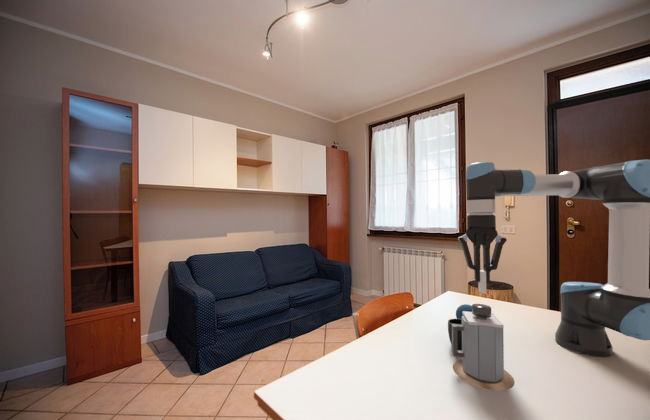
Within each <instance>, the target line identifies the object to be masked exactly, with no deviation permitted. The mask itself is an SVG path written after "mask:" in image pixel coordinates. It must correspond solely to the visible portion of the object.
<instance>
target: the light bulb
mask: <svg viewBox="0 0 650 420" xmlns="http://www.w3.org/2000/svg"><path fill="white" fill-rule="evenodd" d="M462 311H467V312H472V304H471V305H470V304H465V303H464V304H461V305H459V306H457V309H456V311H455V317H456V318H455V319H462V316H463V314H462Z"/></svg>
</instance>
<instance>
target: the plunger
mask: <svg viewBox="0 0 650 420" xmlns="http://www.w3.org/2000/svg"><path fill="white" fill-rule="evenodd" d="M471 306H472V314H473V315H475V316H478V317H479V319H484V318H489V317H491V314H492V307H491V306H490V305H487V304H483V303H473V304H471Z"/></svg>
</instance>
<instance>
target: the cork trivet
mask: <svg viewBox="0 0 650 420" xmlns="http://www.w3.org/2000/svg"><path fill="white" fill-rule="evenodd" d="M452 371H453V372H454V373H455V375H456V376H457V377H459V378H460V379H461V380H463V381H464V382H466V383H468V384H470V385H472V386H475V387H477V388H480V389H485V390H489V391H498V392H501V391H507V390H511V389H512V388H513V387H514V386H515V380H514V376H513V375H512V374H510V373H509V372H508V371H507V370H506V369H504V377H503V378H502V381H501V382H499V383H496V384H489V383H483V382H480V381H477V380H474V379H472V378H471V377H469V376H468V375H467V374H466V373H465V372H464V371H463V366H462V358H461V359H457V360H456V361H455V362H453V364H452Z"/></svg>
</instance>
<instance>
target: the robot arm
mask: <svg viewBox="0 0 650 420" xmlns="http://www.w3.org/2000/svg"><path fill="white" fill-rule="evenodd" d="M495 166H496V165H495V163H494V162H492V161H482V162H481V161H480V162H474V163H470V164H469V165H467V166H466V171H465V187H466V189H465V191H466V213H467V214H468V215H467V216H466V224H467V225H466V231H465V234H463V235H461V236H458V237H457V240H458V241H459V243H460V244H461V248H462V252H463V255H464V258H465V261H466V265H467V267H468V268H469V269H471V270H474V272H473V273H474V274H473V275H474V281H475V282H477V285H478V286H477V287H478V292H479V293H480V294H482V295H487V283H490V281H491V275H490V273H491V272H492V271H495V270H497V269H498V266H499V262H500V258H501V254H502V250H503V246H504V245H505V243H506V242H507V238H506V237H503V236H501V235H499V232H498V231H497V225H496V223H497V222H496V215H495V213H496V197H529V196H530V197H531V196H533V197H535V196H536V197H537V196H540V197H541V196H558V197H560V198H564V199H570V198H571V199H582V200H583V199H585V200H598V201H599V200H600V201H601V200H602V205H603V206H604V207H605V208H607V209H608V213H609V214H608V254H607V255H608V256H607V257H608V258H607V283H605V284H602V283H597V282H596V283H595V282H587V281H586V282H585V281H565V282H563V283H562V284H561V285H560V292H559V293H560V299H559V300H560V322H559V325H558V327H557V329H556V331H555V334H554V337H555V338H554V340H555V342H556V343H557V344H558V345H559V346H561V347H563V348H564V349H567V350H570V351H572V352H575V353H578V354H583V355H587V356H592V357H597V358H598V357H599V358H600V357H601V358H606V357H607V358H608V357H611V356H613V355H614V353H613V351H614V349H613V346H612V342H611V341H610V337H609V335H608V333H607V331H606V329H609V330H612V331H614V332H617V333H620V334H622V335H623V336H626V337H629V338H630V337H631V338H634V339H637V340H641V341H650V287H649V283H650V280H649V279H650V159H637V160H628V161H623V162H618V163H617V162H616V163H612V164H606V165H598V166H593V167H588V168H584V169H578V170H577V169H576V170H570V171H569V170H568V171H567V170H565V171H563V172H560V173H558V174H557V173H555V174H553V173H550V174H548V173H547V174H535V173H533V172H532V170H530V169H529V170H528V169H521V168H518V169H496V167H495ZM468 240H469V241H470V242H471V243H472V247H473V258H472V255H471V252H470V249H469V245H468V243H467V242H468ZM494 240H495V242H496V243H495V245H494V248H493V252H492V256H491V250H490V249H491V244H492V243H493V242H494ZM481 246H482V266H483V267H482V268H483V269H481ZM472 259H473V260H472Z"/></svg>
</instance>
